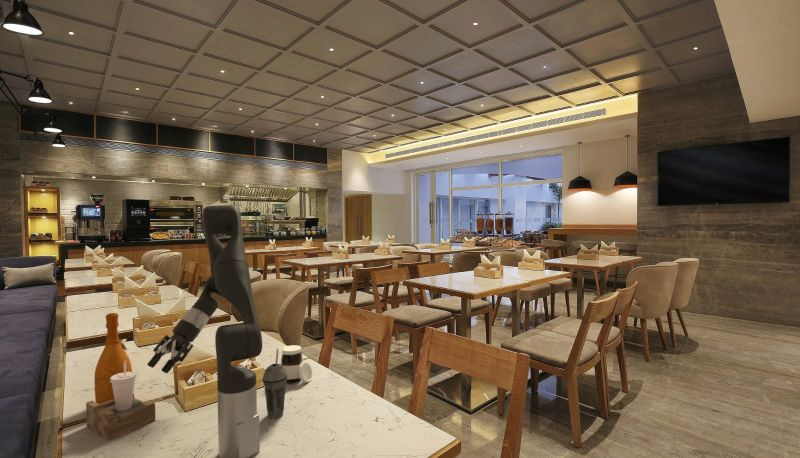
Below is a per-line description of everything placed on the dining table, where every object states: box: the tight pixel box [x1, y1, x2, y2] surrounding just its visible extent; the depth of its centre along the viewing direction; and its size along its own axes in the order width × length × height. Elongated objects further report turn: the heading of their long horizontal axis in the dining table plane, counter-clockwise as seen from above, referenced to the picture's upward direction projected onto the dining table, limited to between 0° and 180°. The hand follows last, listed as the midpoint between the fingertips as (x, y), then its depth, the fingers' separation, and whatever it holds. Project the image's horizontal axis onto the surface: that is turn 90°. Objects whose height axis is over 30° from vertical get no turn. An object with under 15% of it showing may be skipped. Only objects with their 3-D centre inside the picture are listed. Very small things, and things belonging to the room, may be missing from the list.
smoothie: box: [110, 361, 137, 411], centre depth 115 cm, size 6×6×14 cm
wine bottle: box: [93, 312, 133, 404], centre depth 126 cm, size 10×10×30 cm
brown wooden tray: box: [85, 392, 156, 441], centre depth 114 cm, size 14×12×7 cm
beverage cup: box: [262, 348, 287, 419], centre depth 119 cm, size 7×7×20 cm
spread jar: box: [280, 344, 313, 384], centre depth 145 cm, size 12×11×12 cm
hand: (156, 369), depth 123 cm, fingers open, 8 cm apart
